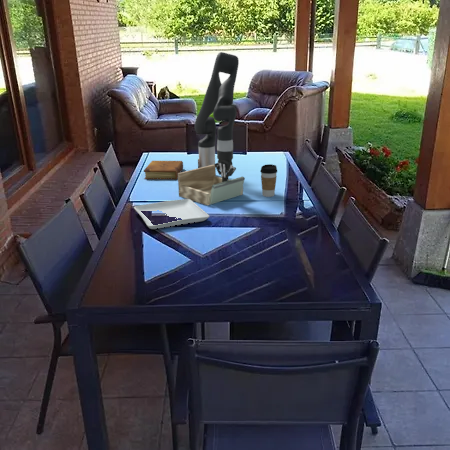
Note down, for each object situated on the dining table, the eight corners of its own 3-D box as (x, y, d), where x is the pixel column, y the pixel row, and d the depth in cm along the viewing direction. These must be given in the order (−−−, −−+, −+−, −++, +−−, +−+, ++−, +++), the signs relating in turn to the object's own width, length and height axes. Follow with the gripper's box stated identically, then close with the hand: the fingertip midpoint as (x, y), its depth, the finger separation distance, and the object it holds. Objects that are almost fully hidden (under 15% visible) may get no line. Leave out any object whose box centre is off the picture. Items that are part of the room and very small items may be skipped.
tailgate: (208, 202, 238) (212, 184, 232) (238, 193, 251) (242, 176, 245) (210, 204, 237) (214, 186, 231) (240, 195, 250) (244, 178, 244)
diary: (177, 180, 280) (176, 170, 278) (144, 180, 281) (143, 170, 279) (183, 169, 301) (182, 160, 299) (152, 169, 303) (152, 160, 301)
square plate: (133, 213, 228) (132, 205, 227) (189, 205, 238) (189, 197, 237) (148, 233, 205) (148, 224, 204) (210, 223, 215) (210, 215, 213)
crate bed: (178, 196, 250) (177, 173, 246) (214, 186, 266) (213, 164, 261) (207, 206, 236) (206, 181, 231) (242, 194, 251) (242, 171, 247)
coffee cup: (279, 194, 251) (279, 165, 246) (273, 198, 244) (274, 169, 239) (263, 192, 255) (264, 163, 249) (257, 196, 248) (257, 167, 242)
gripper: (209, 147, 236) (210, 182, 243) (229, 152, 227) (229, 188, 234) (221, 145, 241) (221, 179, 247) (240, 150, 232) (240, 185, 239)
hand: (225, 184), depth 241 cm, fingers closed
